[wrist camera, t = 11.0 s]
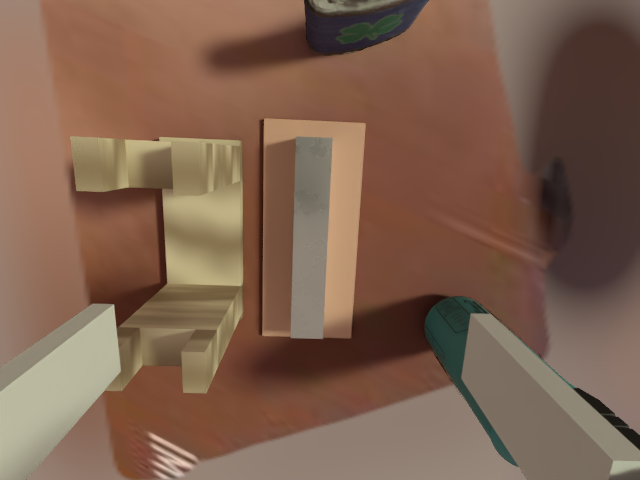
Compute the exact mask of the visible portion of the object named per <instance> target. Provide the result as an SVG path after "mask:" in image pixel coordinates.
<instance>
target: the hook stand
mask: <svg viewBox="0 0 640 480" xmlns="http://www.w3.org/2000/svg"><path fill="white" fill-rule="evenodd" d="M70 138H71V147H72V156H73V165H74V174H75V183H76V191H91V192H106V191H111V190H117V189H122V188H128V187H133V188H158V189H162V196H163V213H164V231H165V249H166V266H167V284H166V285H165V286H164V287H163V288H162V289H161V290H160V291H159V292H157V293H156V294H155V295H154V296H153V297H152V298H151V299H150V300H148V301H147V302H146V303H145V304H144V305H143V306H142V307H140V308H139V309H138V310H137V311H136V312H135V313H134V314H133V315H131V316H130V317H129V318H128V319H127V320H126V321H125V322H124V323H122V324H121V325H120V326H119V327H118V328H117V338H118V348H119V357H120V367H121V372H120V373H119V374H118V375H117V376H116V378H115V379H114V380H113V381H112V382H111V383H110V385H109V386H108V387H107V388H106V389H105V390H104V391H122V390H123V389H124V388H125V386H126V385H127V384H128V383H129V381H130V380H131V379H132V378H133V376H134V375H135V374H136V373H137V371H138V370H139V369H140V368H141V366H142V365H153V366H182V377H183V393H207V390H208V388H209V386H210V384H211V382H212V379H213V377H214V375H215V373H216V370H217V368H218V366H219V364H220V361H221V359H222V357H223V355H224V352H225V350H226V348H227V346H228V343H229V341H230V339H231V337H232V335H233V332H234V330H235V328H236V326H237V323H238V321H239V320H241V319H242V317H243V199H242V141H237V140H214V139H192V138H169V137H159V141H142V140H122V139H109V138H94V137H71V136H70Z"/></svg>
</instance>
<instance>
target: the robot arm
mask: <svg viewBox="0 0 640 480" xmlns="http://www.w3.org/2000/svg"><path fill="white" fill-rule="evenodd" d="M120 372H121V367H120V357H119V348H118V338H117V329H116V319H115V310H114V304H91V305H90V306H88V307H87V308H85V309H84V310H83V311H81V312H80V313H78V314H77V315H75V316H74V317H72V318H71V319H70V320H68V321H67V322H65V323H64V324H62V325H61V326H59V327H58V328H57V329H55V330H54V331H52V332H51V333H49V334H48V335H47V336H45V337H44V338H42V339H41V340H39V341H38V342H36V343H35V344H34V345H32V346H31V347H29V348H28V349H26V350H25V351H23V352H22V353H21V354H19V355H18V356H16V357H15V358H13V359H12V360H11V361H9V362H8V363H6V364H5V365H3V366H2V367H0V480H27V479H28V477H29V476H30V475H31V474H32V473H33V472H34V471H35V469H36V468H37V467H38V466H39V465H40V464H41V462H42V461H43V460H44V459H45V458H46V457H47V456H48V454H49V453H50V452H51V451H52V450H53V449H54V448H55V446H56V445H57V444H58V443H59V442H60V441H61V440H62V438H63V437H64V436H65V435H66V434H67V433H68V432H69V430H70V429H71V428H72V427H73V426H74V425H75V424H76V422H77V421H78V420H79V419H80V418H81V417H82V415H83V414H84V413H85V412H86V411H87V410H88V408H89V407H90V406H91V405H92V404H93V403H94V402H95V400H96V399H97V398H98V397H99V396H100V395H101V394H102V393H103V391H104V390H105V389H106V388H107V387H108V386H109V385H110V383H111V382H112V381H113V380H114V379H115V378H116V376H117V375H118V374H119V373H120ZM461 379H462V380H463V382H464V384H465V385H466V387H467V388H468V390H469V391H470V393H471V394H472V396H473V397H474V399H475V400H476V402H477V404H478V405H479V407H480V408H481V410H482V411H483V413H484V414H485V416H486V417H487V419H488V420H489V422H490V424H491V425H492V427H493V428H494V430H495V431H496V433H497V434H498V436H499V437H500V439H501V440H502V442H503V444H504V445H505V447H506V448H507V450H508V451H509V453H510V454H511V456H512V457H513V459H514V460H515V462H516V464H517V465H518V467H519V468H520V470H521V471H522V473H523V474H524V476H525V477H526V479H527V480H640V435H638V434H637V433H636V432H635V431H634V430H633V429H629V426H628V425H627V424H626V423H625V422H624V421H623V420H621V419H620V418H619V417H616V416H615V414H614V413H613V412H612V411H611V410H610V409H609V408H608V407H606V406H605V405H604V404H603V403H602V402H601V401H600V400H598V399H596V398H595V397H593V396H591V395H589V394H588V393H586V392H584V391H583V390H581V389H579V388H571V387H570V386H569V385H568V384H567V383H566V382H565V381H563V380H562V379H561V378H560V377H559V376H558V375H557V374H556V373H555V372H554V371H553V370H551V369H550V368H549V367H548V366H547V365H546V364H545V363H544V362H543V361H542V360H541V359H539V358H538V357H537V356H536V355H535V354H534V353H533V352H532V351H531V350H530V349H529V348H528V347H526V346H525V345H524V344H523V343H522V342H521V341H520V340H519V339H518V338H517V337H516V336H514V335H513V334H512V333H511V332H510V331H509V330H508V329H507V328H506V327H505V326H504V325H502V324H501V323H500V322H499V321H498V320H497V319H496V318H495V317H494V316H493V315H492V314H472V313H471V315H470V322H469V329H468V336H467V342H466V349H465V356H464V363H463V370H462V377H461Z"/></svg>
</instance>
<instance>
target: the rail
mask: <svg viewBox="0 0 640 480" xmlns="http://www.w3.org/2000/svg"><path fill="white" fill-rule="evenodd" d="M332 143H333V138H322V137H300V136H296V151H295V189H294V227H293V265H292V303H291V338H307V339H323V327H324V307H325V286H326V266H327V245H328V225H329V204H330V184H331V163H332Z"/></svg>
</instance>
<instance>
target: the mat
mask: <svg viewBox="0 0 640 480" xmlns="http://www.w3.org/2000/svg"><path fill="white" fill-rule="evenodd" d="M365 125H366V123H352V122H330V121H309V120H287V119H266V118H264V181H263V324H262V336H285V337H291V303H292V265H293V227H294V189H295V151H296V136H300V137H322V138H333V143H332V163H331V184H330V204H329V225H328V245H327V266H326V286H325V307H324V327H323V338H351V330H352V315H353V301H354V286H355V271H356V257H357V242H358V227H359V213H360V198H361V183H362V169H363V154H364V139H365Z"/></svg>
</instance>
